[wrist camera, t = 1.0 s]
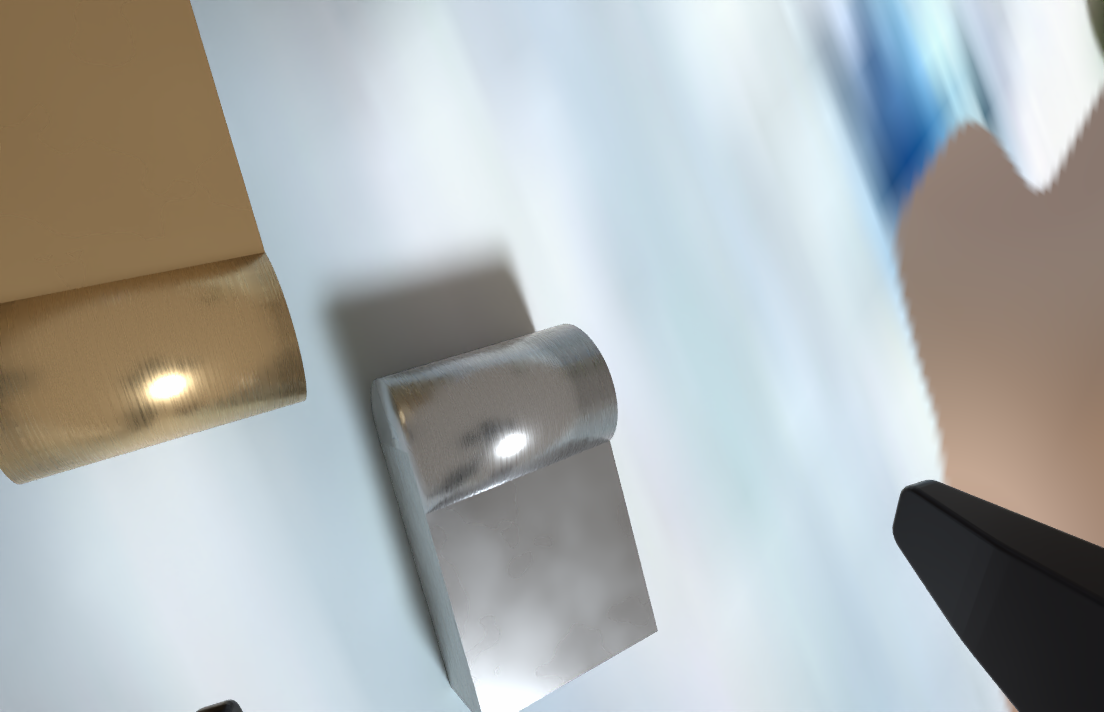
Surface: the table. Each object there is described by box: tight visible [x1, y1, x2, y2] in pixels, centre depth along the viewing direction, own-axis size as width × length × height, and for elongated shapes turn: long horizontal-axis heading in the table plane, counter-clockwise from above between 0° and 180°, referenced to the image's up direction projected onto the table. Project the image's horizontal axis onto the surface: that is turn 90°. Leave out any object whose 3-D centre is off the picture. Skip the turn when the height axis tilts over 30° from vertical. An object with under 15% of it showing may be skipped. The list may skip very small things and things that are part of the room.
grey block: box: [371, 324, 658, 712], centre depth 21 cm, size 10×6×4 cm, turn 16°
